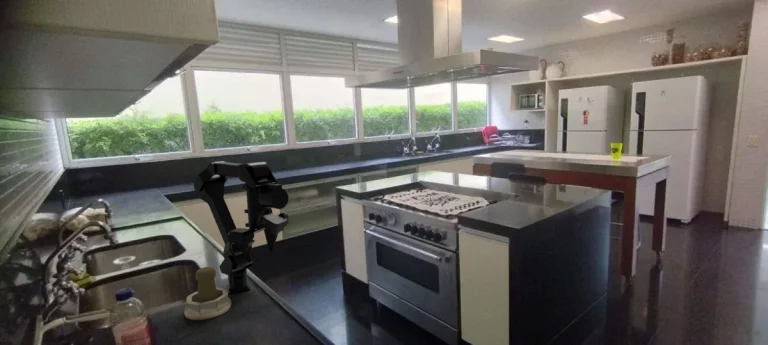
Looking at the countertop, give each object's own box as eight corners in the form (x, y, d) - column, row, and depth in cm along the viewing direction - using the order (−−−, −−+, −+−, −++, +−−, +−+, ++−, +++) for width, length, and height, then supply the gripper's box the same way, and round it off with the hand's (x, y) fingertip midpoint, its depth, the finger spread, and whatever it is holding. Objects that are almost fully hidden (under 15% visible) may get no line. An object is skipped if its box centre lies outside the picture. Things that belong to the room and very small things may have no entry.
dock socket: (185, 305, 106) (183, 292, 105) (229, 295, 111) (228, 283, 111) (184, 324, 95) (182, 310, 95) (233, 312, 101) (232, 299, 100)
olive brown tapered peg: (223, 300, 106) (220, 264, 105) (214, 310, 100) (211, 272, 99) (202, 300, 106) (199, 264, 105) (192, 311, 100) (188, 273, 99)
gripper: (257, 214, 94) (260, 272, 96) (299, 200, 111) (302, 249, 113) (224, 211, 98) (228, 266, 100) (270, 198, 115) (273, 245, 117)
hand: (260, 256), depth 108 cm, fingers open, 9 cm apart
